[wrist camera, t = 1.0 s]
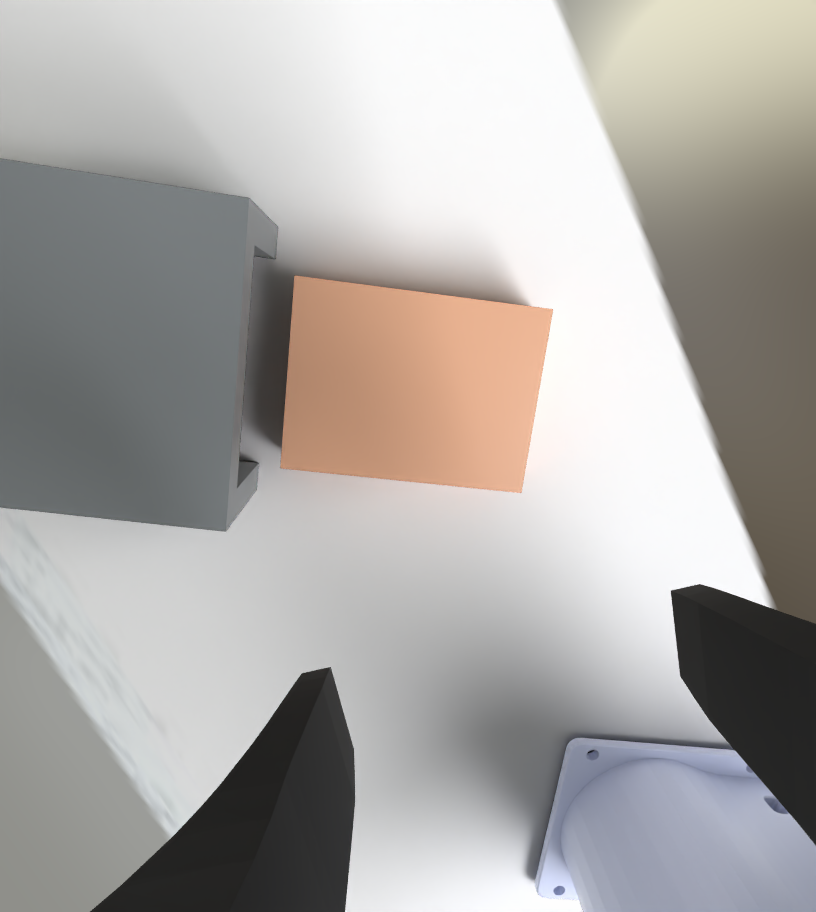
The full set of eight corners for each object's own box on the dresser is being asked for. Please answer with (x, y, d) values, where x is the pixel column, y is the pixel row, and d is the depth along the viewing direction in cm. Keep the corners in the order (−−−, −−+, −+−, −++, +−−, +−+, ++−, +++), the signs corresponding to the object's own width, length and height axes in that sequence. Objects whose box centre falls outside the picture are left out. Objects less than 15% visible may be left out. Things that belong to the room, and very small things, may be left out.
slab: (531, 311, 20) (553, 309, 17) (504, 474, 21) (521, 492, 19) (304, 282, 19) (294, 275, 17) (291, 452, 20) (280, 468, 18)
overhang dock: (277, 227, 18) (249, 197, 14) (256, 489, 20) (225, 531, 16) (61, 193, 17) (-36, 152, 13) (61, 467, 19) (-24, 504, 15)
